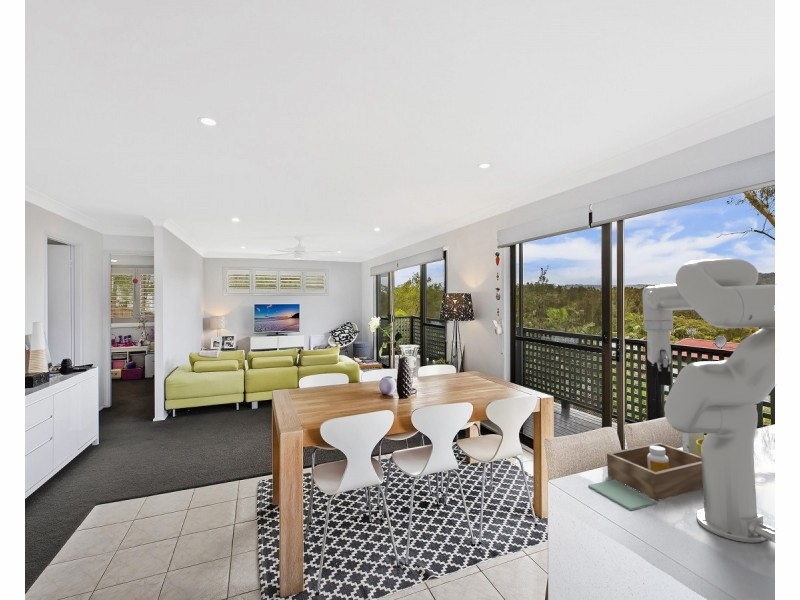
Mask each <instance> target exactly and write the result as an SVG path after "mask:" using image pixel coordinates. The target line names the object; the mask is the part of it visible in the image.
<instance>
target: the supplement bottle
mask: <svg viewBox="0 0 800 600" xmlns="http://www.w3.org/2000/svg"><path fill="white" fill-rule="evenodd" d="M649 451H650V452H651V453H649V454H648V455H647V464H648V469H649V470H651V471H653V472H658V471H662V470H667V469H669V459H668V457H667V456H666V455H665V454H666V451H665V448H663V447H660V446H650V447H649Z"/></svg>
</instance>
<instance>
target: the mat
mask: <svg viewBox="0 0 800 600" xmlns="http://www.w3.org/2000/svg"><path fill="white" fill-rule="evenodd" d="M587 485H588V484H587ZM588 488H589V489H592V490H593V491H594V492H597V493H599V494H600V495H602V496H604V497H605V498H608V499H610V500H611V501H613V502H615V503H617V504H619V505H620V506H622V507H623V508H626V509H627V510H629V511H633V510H638V509H641V508H645V507H649V506H652V505H656V504H657V502H658V501H657V500H655V499H653V498H651V497H649V496H647V495H645V494H643V493H641V492H639V491H637V490H635V489H633V488H631V487H629V486H627V485H625V484H623V483H621V482H619V481H617V480H615V479H609V480H604V481H599V482H595V483H592V484H589V485H588Z"/></svg>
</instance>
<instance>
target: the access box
mask: <svg viewBox="0 0 800 600" xmlns="http://www.w3.org/2000/svg"><path fill="white" fill-rule="evenodd" d="M650 446H660V447H663V448H665V451H666V454H665V455H666V456H667V457H668V459H669V469H667V470H662V471H658V472H653V471H651V470H649V469H648V464H647V455H648V454H649V453H651V452H650V451H649V447H650ZM606 462H607V464H606V465H607V477H609V478H610V479H612V480H614V481H616V482H618V483H620V484H622V485H625V484H626V485H625V486H627V485H628V486H627V487H629V486H630V487H629V488H631V487H632V488H631V489H633V488H634V489H633V490H635V489H636V490H635V491H637V490H638V491H637V492H639V491H640V492H639V493H640V494H642V495H644V496H646V497H648V498H650V499H652V500H654V501H656V502H658V501H660V500H661V501H662V500H664V499H668V498H673V497H676V496H680V495H683V494H687V493H690V492H695V491H698V490H703V480H702V461H701V457H700V456H697V455H694V454H691V453H689V452H686V451H683V449H680V448H677V447H674V446H671V445H668V444H665V443H661V442H656V443H651V444H650V443H649V444H647V445H646V444H645V445H641V446H637V447H631V448H626V449H621V450H617V451H612V452H607V453H606Z"/></svg>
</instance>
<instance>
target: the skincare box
mask: <svg viewBox="0 0 800 600" xmlns="http://www.w3.org/2000/svg"><path fill="white" fill-rule="evenodd" d="M704 434H705V433H684V432H682V450H683V451H686V452H689V453H691V454H694V455H697V456H700V455H699V454H698V453H697V450H696V441H697V440H698V439H704V438H705V435H704Z"/></svg>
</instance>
